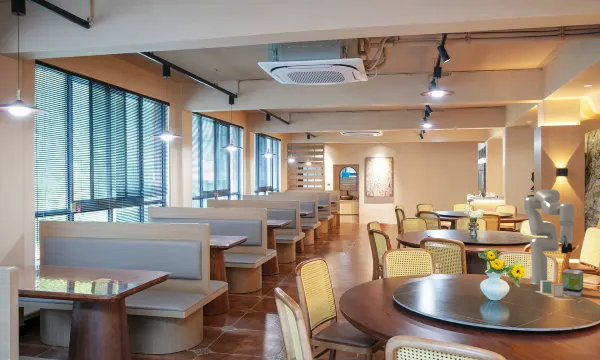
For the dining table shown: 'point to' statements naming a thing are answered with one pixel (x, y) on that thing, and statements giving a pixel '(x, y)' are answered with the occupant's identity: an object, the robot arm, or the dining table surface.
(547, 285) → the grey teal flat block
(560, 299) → the board
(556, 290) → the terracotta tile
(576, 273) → the tea box
